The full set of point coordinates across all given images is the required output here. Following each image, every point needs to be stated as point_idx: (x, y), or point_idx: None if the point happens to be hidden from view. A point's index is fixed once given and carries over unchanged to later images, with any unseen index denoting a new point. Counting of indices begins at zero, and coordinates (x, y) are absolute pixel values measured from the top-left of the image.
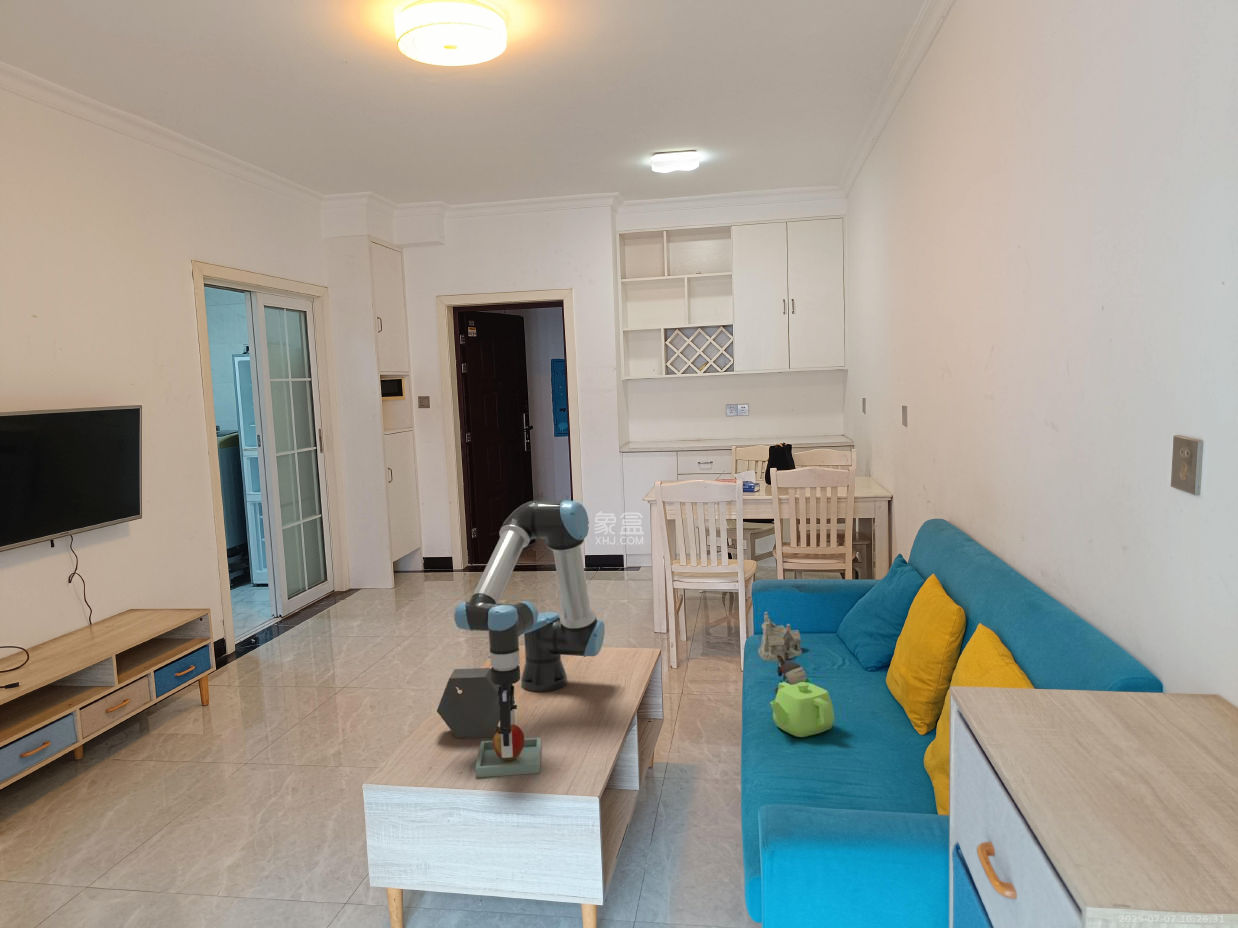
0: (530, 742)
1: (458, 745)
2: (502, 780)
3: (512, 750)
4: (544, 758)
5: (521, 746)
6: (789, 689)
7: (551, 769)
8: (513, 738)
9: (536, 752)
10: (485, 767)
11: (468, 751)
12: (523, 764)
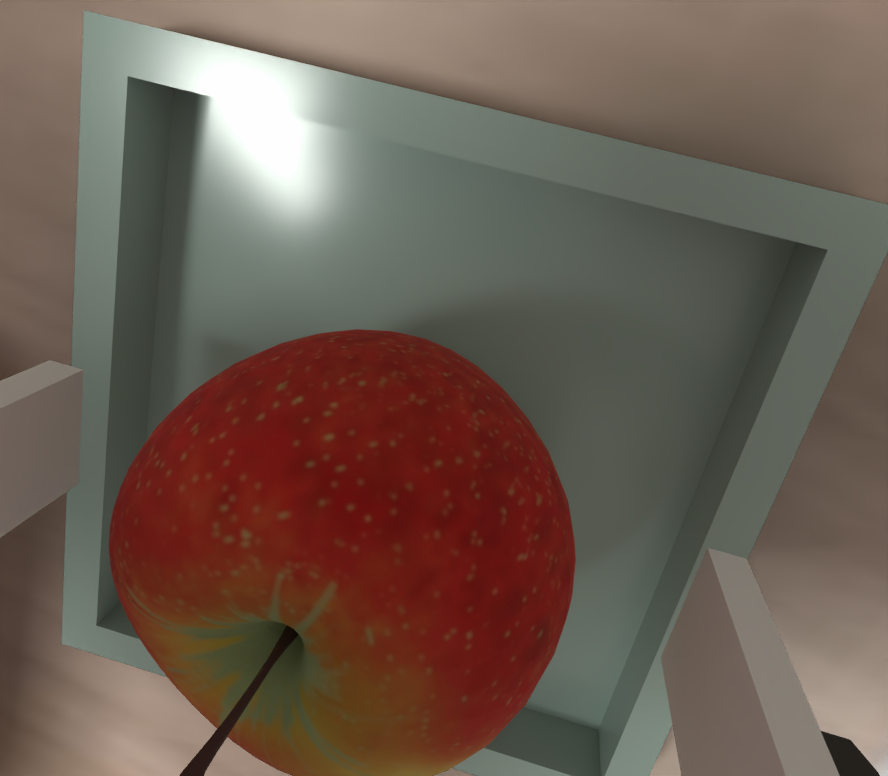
0: (147, 165)
1: (4, 715)
2: (804, 584)
3: (727, 592)
4: (496, 57)
5: (508, 395)
6: None
7: (841, 30)
8: (541, 590)
9: (529, 169)
10: (655, 750)
11: (123, 682)
12: (799, 403)
